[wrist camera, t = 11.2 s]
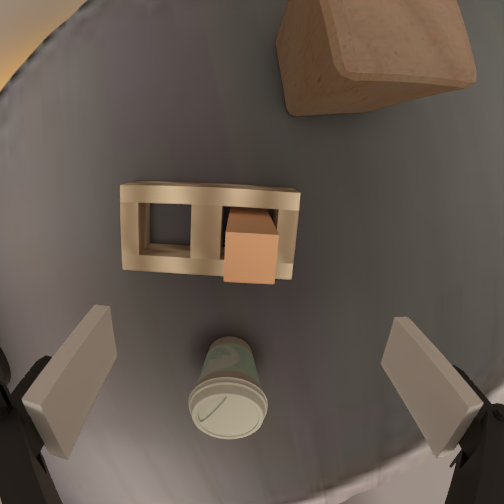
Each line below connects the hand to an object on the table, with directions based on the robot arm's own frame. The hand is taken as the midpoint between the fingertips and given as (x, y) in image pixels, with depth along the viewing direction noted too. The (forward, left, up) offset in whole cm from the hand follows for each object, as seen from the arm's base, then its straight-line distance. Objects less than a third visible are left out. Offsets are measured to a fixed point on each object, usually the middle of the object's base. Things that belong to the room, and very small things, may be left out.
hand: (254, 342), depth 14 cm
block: (+7, +18, -24) cm, 31 cm away
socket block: (-4, 0, -23) cm, 24 cm away
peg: (0, 0, -23) cm, 23 cm away
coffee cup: (-1, -17, -24) cm, 29 cm away
